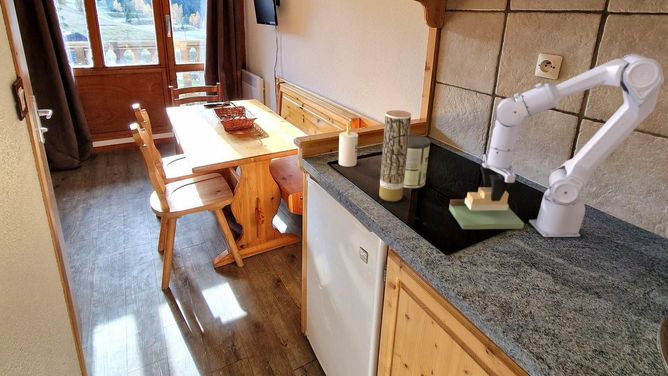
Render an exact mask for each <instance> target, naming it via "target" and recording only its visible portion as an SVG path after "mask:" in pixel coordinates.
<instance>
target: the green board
mask: <svg viewBox="0 0 668 376" xmlns="http://www.w3.org/2000/svg"><path fill="white" fill-rule="evenodd" d="M508 203H509V200H508V199H507V204H508ZM448 210H449V211H450V213H451V215H452V216H453V217H454V219H455V220H456V222H457V223H458V225H459V226H460V228H461V229H462V230H515V229H516V230H519V229H521V230H522V229H523V230H524V227H525V222H523V220H521V218H519V217H518V215H517V214H516V213H515V212H514V211H513V210H512V209H511V208H510V206H509V207H508V210H470V209H469V208H468V206H467V205H466V204H465V198H464V199H463V198H462V199H450V200H449V207H448Z"/></svg>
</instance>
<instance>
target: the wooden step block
mask: <svg viewBox="0 0 668 376" xmlns="http://www.w3.org/2000/svg"><path fill="white" fill-rule="evenodd" d="M491 190H492V187H484V186H482V187H481V186H478V189H477V191H468V192H467V195H466V197H465V198H464V199H465V204H466V205H467V206H468V208H469V209H470V210H508V207H509V208H510V205H509V204H508V203H507V200H508V199H509V194H510V193H508V191H507V190H506V191H505V192H504V194H503V196H502V198H501V200H500V201H492V200H491Z"/></svg>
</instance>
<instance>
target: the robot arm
mask: <svg viewBox="0 0 668 376" xmlns="http://www.w3.org/2000/svg"><path fill="white" fill-rule="evenodd" d="M664 82H665V77H664V73H663V68H662V65H661V64H660V63H659V61H657V60H655V59H654V58H649V57H646V56H644V55H643V54H640V53H630V54H626V55H624V56H622V57H621V58H615V59H612V60H609V61H607V62H604V63H603V64H600V65H598V66H595V67H593V68H591V69H589V70H586V71H585V72H582V73H580V74H578V75H575V76H573V77H571V78H569V79H566V80H565V81H563V82H560V83H558V84H552V83H549V82H545V83H542V82H539V83H537V84H534V85H535V88H532V89H529V90H527V91H525V92H522V93H519V92H517V93H515V94H513V97H505V98H504V99H502V100H501V101H500V102H499V103H498V105H497V107H496V120H495V122H494V127H493V130H492V134H491V139H490V145H489V150H488V153H483V155H482V163H481V165H480V168H479V169H480V171H481V174H482V175H481V176H482V180H483V181H482V182H483V187H492V190H491V200H492V201H500V200H501V198H502V196H503V194H504V192H505V191H506V192H507V189H508V188H509V187H511V185H512V184H514V183H515V181H516V177H517V176H516V174H515V173H514V169H513V165H512V162H513V159H514V153H515V149H516V145H517V141H518V135H519V126H520V123H522V121H523V120H524V118H530V117H532V116H536V115H537V114H540V113H543V112H546V111H548V110H551V109H553V108H556V107H557V106H558V104H559V102H560V101H561V99H564V98H567V97H570V96H573V95H576V94H579V93H582V92H585V91H586V90H589V89H593V88H595V87H598V86H610V87H617V88H621V92H622V98H623V104H622V105H621V106H620V107H619V108H618V109H617V110H616V111H615V112H614V114H612V115H611V116H610V118H608V120H607V121H606V122H605V123H604V124H603V125H602V126H601V127H600V128H599V129H598V130H597V131H596V133H595V134H594V135H593V136H592V137H591V138H590V139H589V140H588V141H587V142H586V143H585V145H583V146H582V147H581V149H579V151H578V152H577V153H576V154H575V155H574V156H573V158H570V159H568V160H565V161H564V162H563V164H561V165H560V166H558V167H556V168H554V169H552V170H551V171H550V172H549V173H548V175H547V179H546V180H547V184H548V186H549V187H548V188H547V189H546V190H545V191H544V193H543V196H542V200H541V203H540V206H539V207H540V208H539V211H538V214H537V218H536V219H529V220H528V223H529V224H530V225H531V226H532V227H533V228H534V229H535V230H536V231H537V232H538V233H539V234H540V235H541V236H542V237H544V238H579V237H581V234H580V229H581V226H582V225H583V224H582V223H583V220H584V218H585V215H586V205H585V203H584V201H583V200H582V199H581V198H580V197H581V194H582V191H583V189H584V188H585V187H586V186H587V185H588V183H589V180H590V178H591V175H592V173H594V171H595V170H596V169H597V168H598V167H599V166H600V165H602V163H603V162H604V161H605V160H606V159H607V158H608V157H609V156H610V155H611V154H612V153H613V152H614V151H615V150H616V149H617V148H618V147H619V146H620V145H621V144H622V143H623V142H624V140H625V139H626V138H627V137H628V136H629V135H630V134H632V133H633V132H634V131H635V130H636V128H637V127H639V125H640V124H641V123H642V122H643V121H644V120H645V119H647V117H649V115H650V114H651V113H652V112H653V111H654V109H655V108H656V105H657V101H658V97H659V94H660V89H661V86H662V84H663V83H664Z"/></svg>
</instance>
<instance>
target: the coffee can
mask: <svg viewBox="0 0 668 376" xmlns="http://www.w3.org/2000/svg"><path fill="white" fill-rule="evenodd" d="M431 143H432V140H431V139H430V138H428V137H426V136H423V135H419V134H409V141H408V150H407V160H406V169H405V178H404V186H403V188H405V189H420V188H422V187H424V186H425V185H426V179H427V172H428V171H427V169H428V163H429V153H430V146H431Z"/></svg>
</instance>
